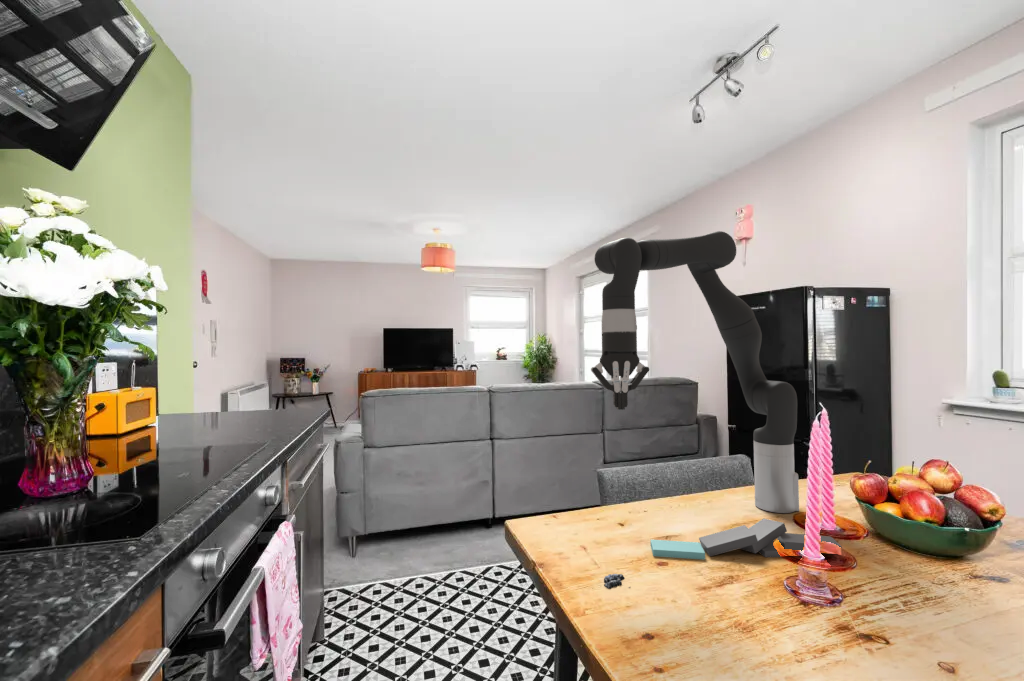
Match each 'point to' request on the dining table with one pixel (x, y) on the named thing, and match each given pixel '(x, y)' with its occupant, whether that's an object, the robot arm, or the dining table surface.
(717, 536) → the domino
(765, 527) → the domino
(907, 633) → the dining table surface
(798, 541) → the domino
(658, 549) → the end domino
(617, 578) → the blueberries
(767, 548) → the domino
